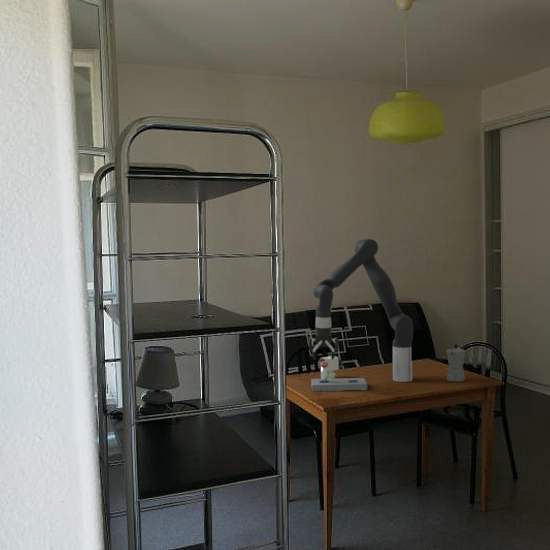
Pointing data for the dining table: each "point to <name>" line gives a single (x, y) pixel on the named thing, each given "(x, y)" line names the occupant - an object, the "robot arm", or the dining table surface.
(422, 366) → the dining table surface
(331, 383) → the mount board
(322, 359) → the pneumatic valve
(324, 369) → the lock pin
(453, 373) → the coffeepot
